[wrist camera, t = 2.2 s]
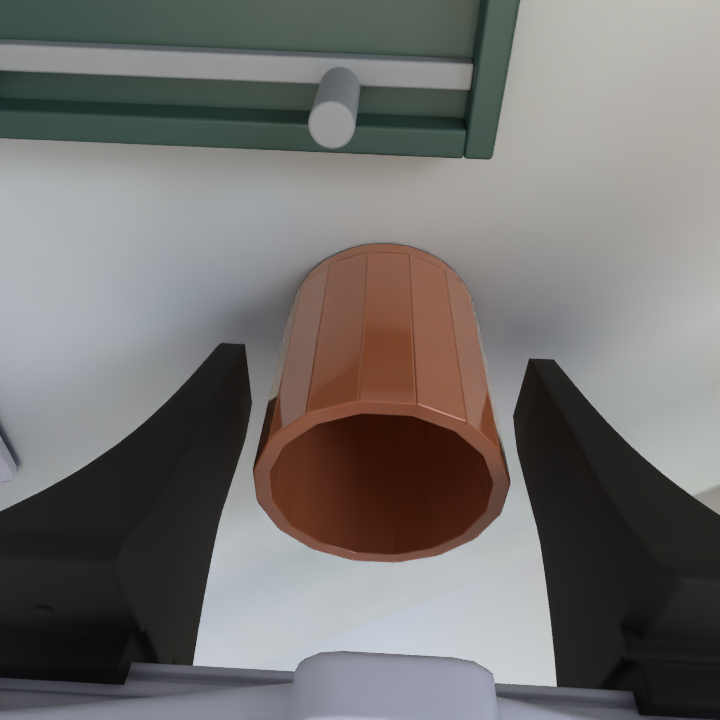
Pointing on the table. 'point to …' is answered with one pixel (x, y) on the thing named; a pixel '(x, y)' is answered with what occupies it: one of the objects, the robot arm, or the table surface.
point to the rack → (259, 73)
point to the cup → (382, 412)
